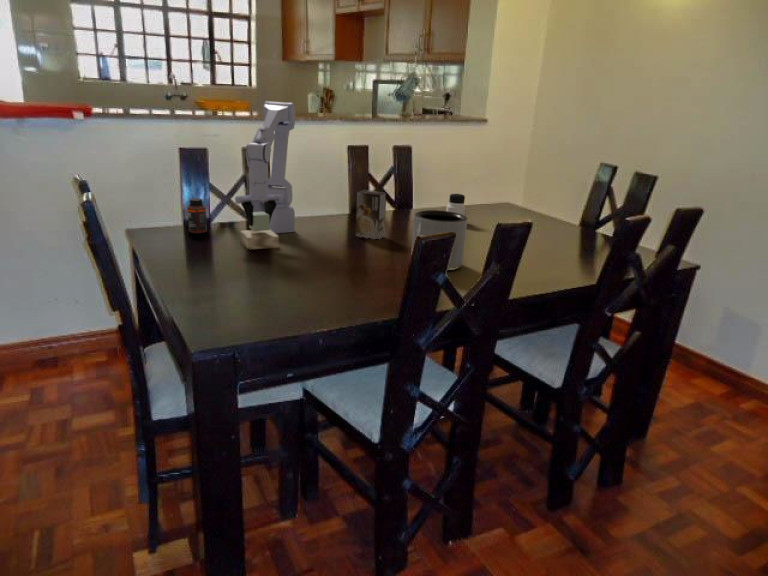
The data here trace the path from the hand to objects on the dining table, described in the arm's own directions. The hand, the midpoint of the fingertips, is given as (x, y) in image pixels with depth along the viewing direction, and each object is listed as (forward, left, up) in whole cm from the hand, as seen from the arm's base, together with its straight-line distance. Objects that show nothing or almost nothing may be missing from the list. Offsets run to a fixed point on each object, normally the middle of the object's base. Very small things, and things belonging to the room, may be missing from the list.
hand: (259, 224), depth 181 cm
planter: (-42, +40, -7) cm, 58 cm away
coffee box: (-40, +3, -7) cm, 41 cm away
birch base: (0, 0, -7) cm, 7 cm away
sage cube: (0, 0, -1) cm, 1 cm away
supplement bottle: (+14, -22, -7) cm, 27 cm away
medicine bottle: (-85, -5, -7) cm, 85 cm away
